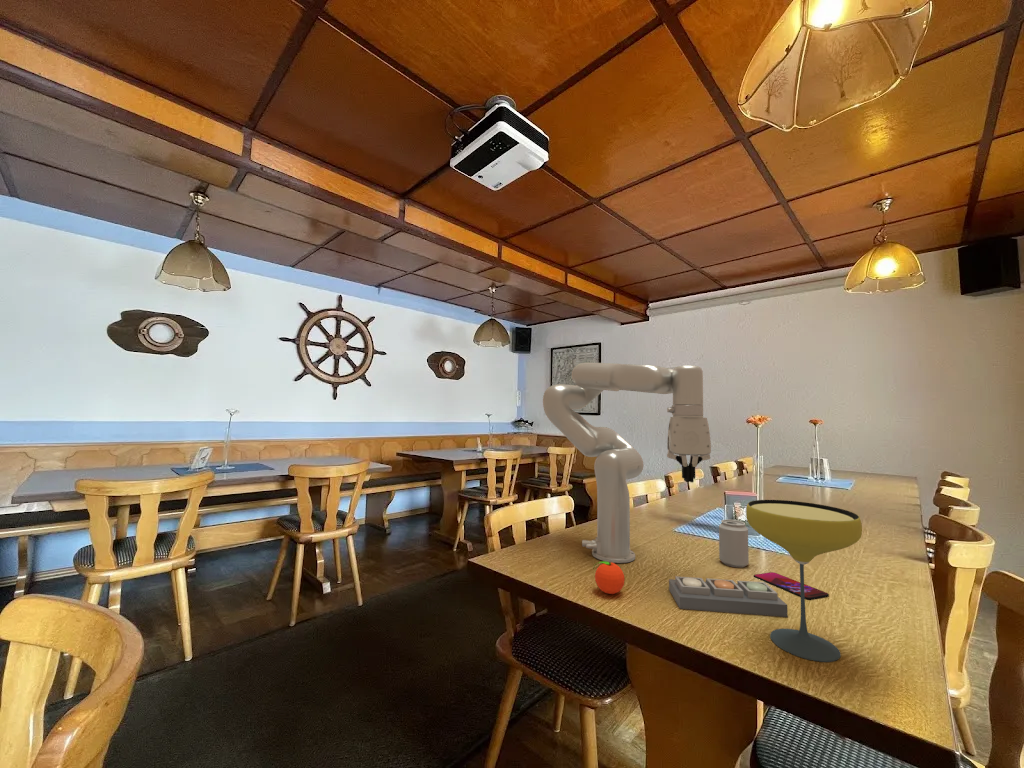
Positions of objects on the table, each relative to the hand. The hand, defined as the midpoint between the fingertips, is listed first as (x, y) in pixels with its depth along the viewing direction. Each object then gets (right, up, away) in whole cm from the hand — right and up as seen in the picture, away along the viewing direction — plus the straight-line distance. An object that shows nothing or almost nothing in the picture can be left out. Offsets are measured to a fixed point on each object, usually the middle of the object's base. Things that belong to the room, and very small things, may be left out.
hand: (688, 481), depth 110 cm
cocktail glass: (+8, -23, -32) cm, 41 cm away
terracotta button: (+2, -22, -15) cm, 26 cm away
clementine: (-24, -24, -11) cm, 36 cm away
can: (+17, -26, +10) cm, 33 cm away
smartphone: (+23, -26, -5) cm, 35 cm away
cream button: (-5, -22, -14) cm, 26 cm away
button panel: (+2, -24, -15) cm, 29 cm away
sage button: (+9, -22, -16) cm, 28 cm away
